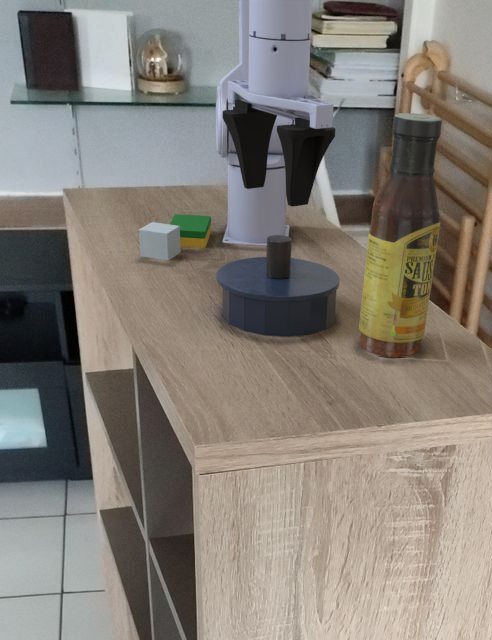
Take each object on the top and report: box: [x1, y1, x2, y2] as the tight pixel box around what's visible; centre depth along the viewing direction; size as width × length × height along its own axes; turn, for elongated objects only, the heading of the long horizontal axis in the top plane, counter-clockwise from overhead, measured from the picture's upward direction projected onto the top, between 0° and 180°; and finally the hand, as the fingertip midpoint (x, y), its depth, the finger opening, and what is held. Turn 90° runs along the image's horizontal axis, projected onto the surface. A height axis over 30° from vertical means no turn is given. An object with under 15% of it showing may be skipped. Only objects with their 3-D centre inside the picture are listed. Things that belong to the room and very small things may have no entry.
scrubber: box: [169, 213, 212, 249], centre depth 110 cm, size 7×4×2 cm, turn 179°
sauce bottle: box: [358, 112, 443, 359], centre depth 80 cm, size 6×6×20 cm
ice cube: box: [138, 221, 181, 261], centre depth 104 cm, size 4×4×4 cm
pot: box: [222, 288, 337, 338], centre depth 90 cm, size 11×11×4 cm
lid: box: [215, 235, 341, 302], centre depth 88 cm, size 12×12×5 cm
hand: (275, 196), depth 91 cm, fingers open, 7 cm apart
